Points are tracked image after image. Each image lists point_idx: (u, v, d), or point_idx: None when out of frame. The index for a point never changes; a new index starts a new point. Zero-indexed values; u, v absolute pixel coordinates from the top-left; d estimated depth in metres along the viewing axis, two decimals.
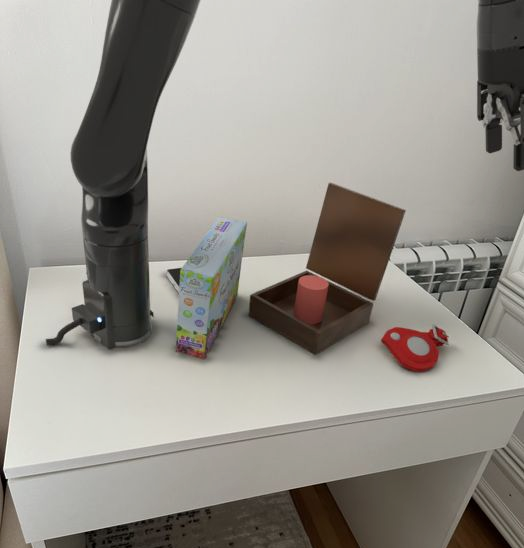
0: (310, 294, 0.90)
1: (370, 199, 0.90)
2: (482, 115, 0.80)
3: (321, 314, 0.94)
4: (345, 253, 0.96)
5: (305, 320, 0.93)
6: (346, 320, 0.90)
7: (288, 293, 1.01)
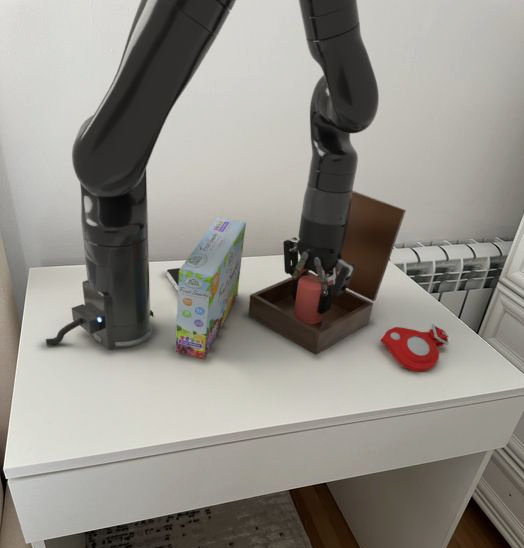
0: (310, 294, 0.90)
1: (370, 199, 0.90)
2: (291, 270, 0.93)
3: (321, 314, 0.94)
4: (345, 253, 0.96)
5: (305, 320, 0.93)
6: (346, 320, 0.90)
7: (288, 293, 1.01)
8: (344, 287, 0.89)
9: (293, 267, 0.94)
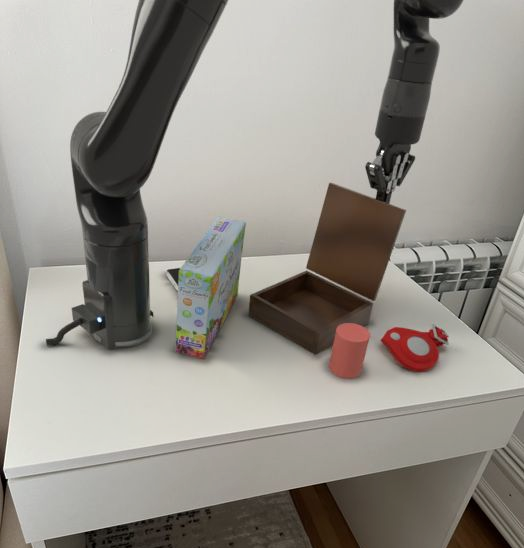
0: (335, 334, 0.82)
1: (370, 199, 0.90)
2: None
3: (338, 367, 0.83)
4: (345, 253, 0.96)
5: None
6: (346, 320, 0.90)
7: (288, 293, 1.01)
8: None
9: None
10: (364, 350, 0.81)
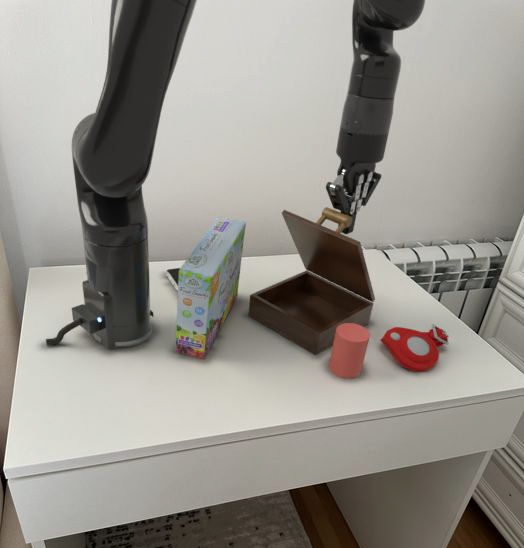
0: (335, 334, 0.82)
1: (324, 232, 0.84)
2: None
3: (338, 367, 0.83)
4: (329, 266, 0.94)
5: None
6: (346, 320, 0.90)
7: (288, 293, 1.01)
8: None
9: None
10: (364, 350, 0.81)
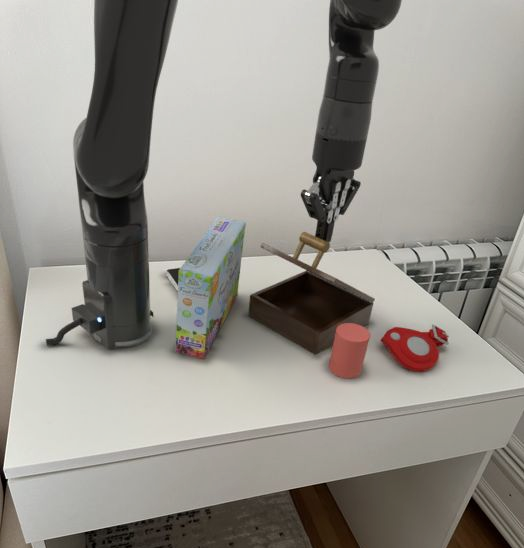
0: (335, 334, 0.82)
1: (302, 267, 0.85)
2: None
3: (338, 367, 0.83)
4: None
5: None
6: (346, 320, 0.90)
7: (288, 293, 1.01)
8: None
9: None
10: (364, 350, 0.81)
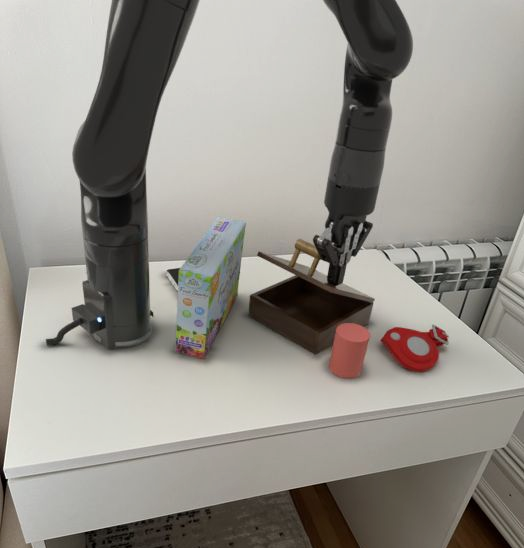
0: (335, 334, 0.82)
1: (298, 276, 0.85)
2: None
3: (338, 367, 0.83)
4: None
5: None
6: (346, 320, 0.90)
7: (288, 293, 1.01)
8: None
9: None
10: (364, 350, 0.81)
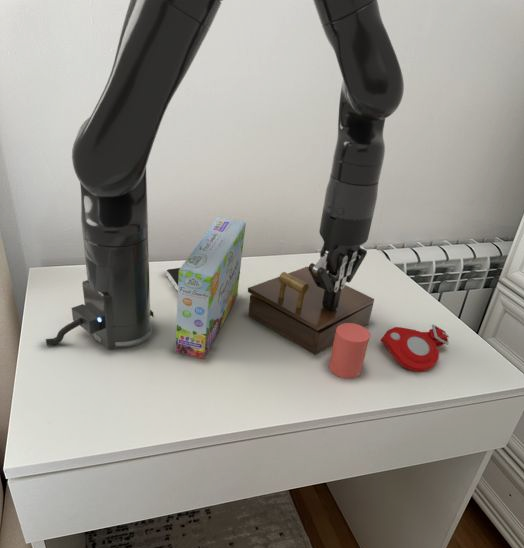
0: (335, 334, 0.82)
1: None
2: None
3: (338, 367, 0.83)
4: None
5: None
6: (346, 320, 0.90)
7: None
8: None
9: None
10: (364, 350, 0.81)
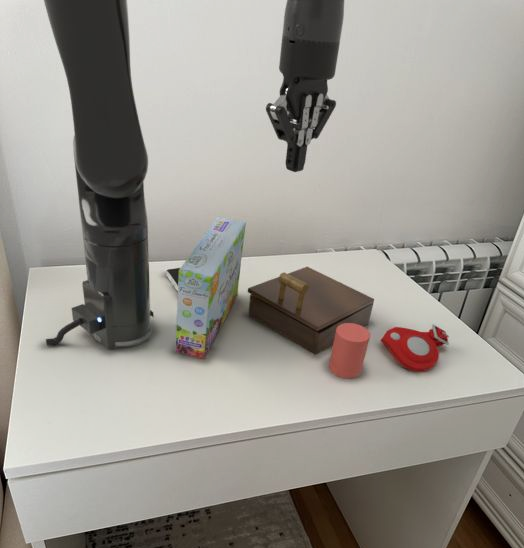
0: (335, 334, 0.82)
1: (287, 313, 0.88)
2: None
3: (338, 367, 0.83)
4: None
5: None
6: (346, 320, 0.90)
7: None
8: None
9: None
10: (364, 350, 0.81)
